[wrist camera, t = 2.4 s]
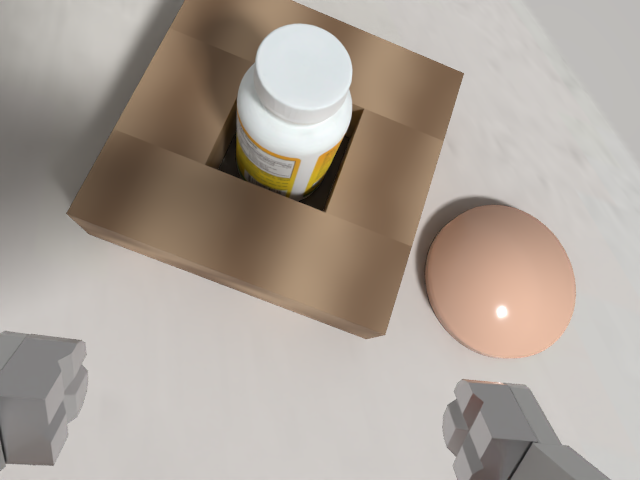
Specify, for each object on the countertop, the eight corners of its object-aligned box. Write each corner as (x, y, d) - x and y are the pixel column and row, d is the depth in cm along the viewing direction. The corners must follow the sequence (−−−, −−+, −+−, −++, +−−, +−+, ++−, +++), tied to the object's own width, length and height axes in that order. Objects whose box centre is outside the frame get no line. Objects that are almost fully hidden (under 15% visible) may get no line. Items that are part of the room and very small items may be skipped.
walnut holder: (88, 233, 25) (66, 213, 22) (208, 8, 30) (205, -37, 27) (366, 339, 26) (385, 334, 23) (439, 104, 31) (463, 73, 28)
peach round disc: (406, 326, 27) (413, 324, 26) (446, 188, 30) (453, 182, 29) (549, 380, 28) (561, 381, 27) (575, 241, 30) (586, 237, 29)
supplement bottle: (248, 214, 27) (253, 135, 18) (226, 130, 28) (222, 16, 19) (337, 195, 28) (385, 113, 19) (313, 115, 29) (348, 2, 20)
